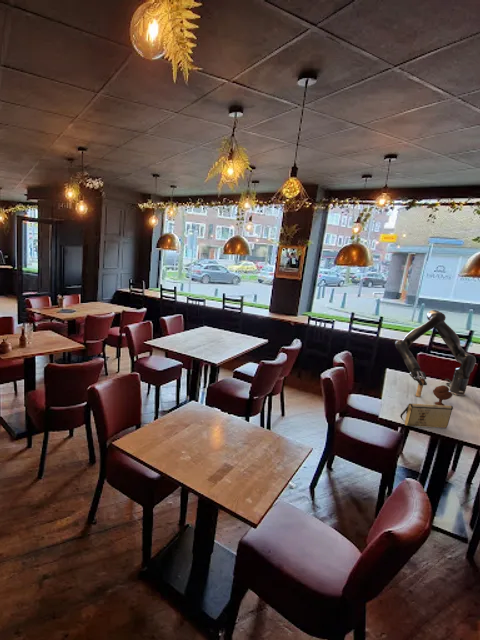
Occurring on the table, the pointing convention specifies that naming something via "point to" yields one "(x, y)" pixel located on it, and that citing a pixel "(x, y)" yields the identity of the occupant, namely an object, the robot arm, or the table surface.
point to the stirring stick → (420, 388)
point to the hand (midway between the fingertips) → (423, 385)
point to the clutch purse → (427, 415)
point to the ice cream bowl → (442, 394)
